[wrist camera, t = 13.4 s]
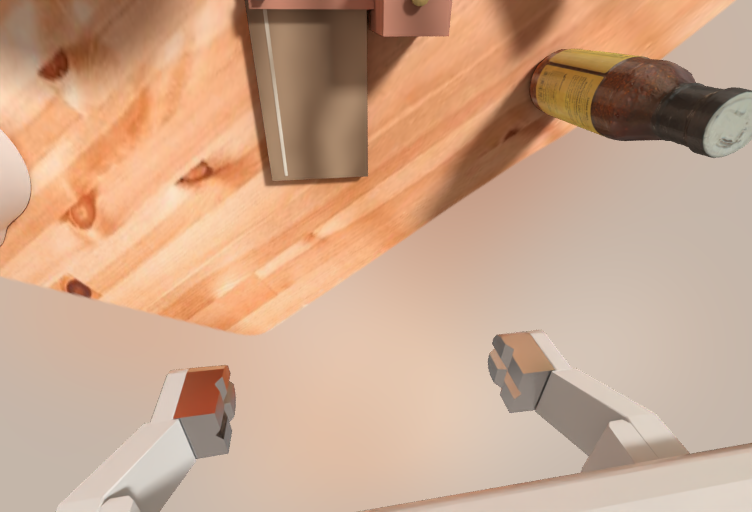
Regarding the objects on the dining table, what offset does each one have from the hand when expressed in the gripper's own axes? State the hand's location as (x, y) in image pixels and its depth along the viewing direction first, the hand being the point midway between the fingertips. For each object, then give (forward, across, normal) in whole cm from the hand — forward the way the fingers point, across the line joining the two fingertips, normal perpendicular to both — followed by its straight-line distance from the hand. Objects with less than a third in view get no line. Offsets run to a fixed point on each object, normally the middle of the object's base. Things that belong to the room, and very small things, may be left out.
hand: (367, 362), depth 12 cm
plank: (+32, 0, +4) cm, 33 cm away
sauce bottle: (+32, +25, +3) cm, 40 cm away
